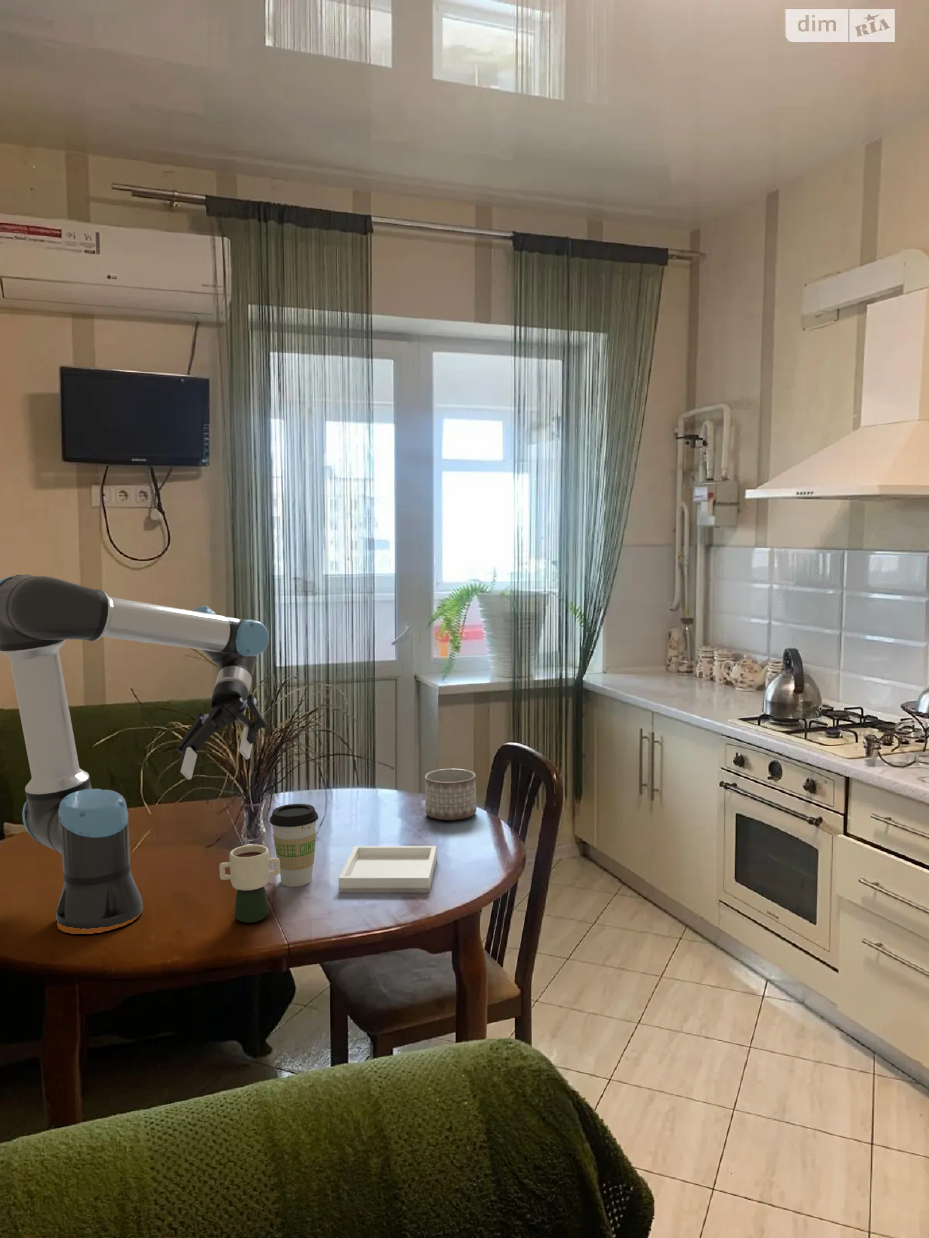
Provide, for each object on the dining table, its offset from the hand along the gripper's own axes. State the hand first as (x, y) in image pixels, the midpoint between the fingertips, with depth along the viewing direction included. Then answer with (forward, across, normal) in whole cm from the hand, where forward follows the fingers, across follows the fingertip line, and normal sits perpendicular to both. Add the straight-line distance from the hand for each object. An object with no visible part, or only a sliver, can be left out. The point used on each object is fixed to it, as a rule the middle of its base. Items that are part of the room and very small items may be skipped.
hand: (214, 765), depth 179 cm
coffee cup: (+12, -4, -27) cm, 30 cm away
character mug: (+26, -3, -16) cm, 31 cm away
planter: (-21, -26, -60) cm, 68 cm away
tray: (+11, -22, -35) cm, 43 cm away
